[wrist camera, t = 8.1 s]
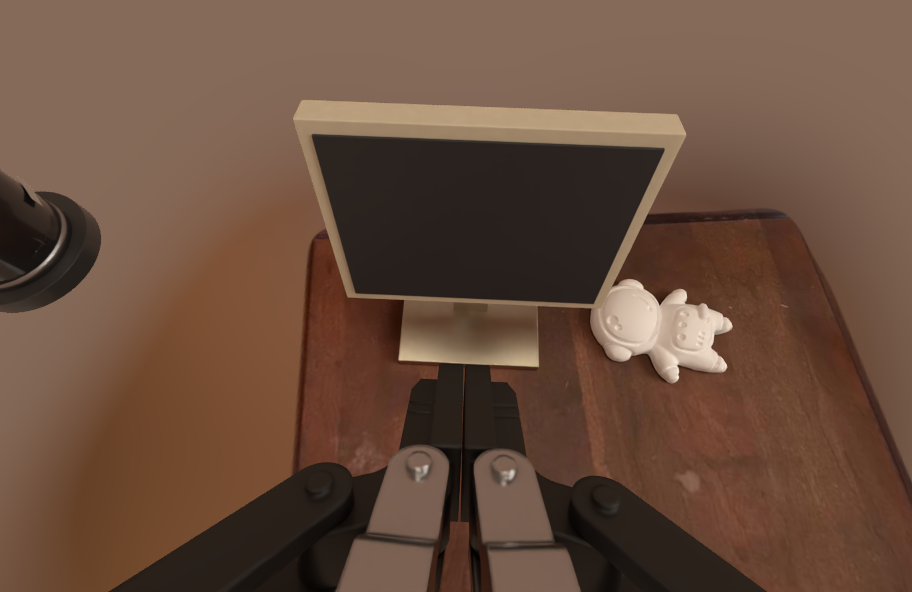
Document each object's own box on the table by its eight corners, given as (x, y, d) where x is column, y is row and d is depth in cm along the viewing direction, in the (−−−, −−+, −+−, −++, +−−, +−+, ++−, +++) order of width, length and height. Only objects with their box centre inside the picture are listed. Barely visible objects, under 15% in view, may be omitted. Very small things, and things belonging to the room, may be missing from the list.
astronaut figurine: (712, 402, 37) (733, 396, 34) (577, 347, 39) (587, 336, 36) (731, 314, 40) (752, 302, 37) (605, 266, 42) (616, 251, 39)
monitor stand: (536, 370, 38) (571, 326, 27) (399, 364, 38) (376, 317, 27) (534, 277, 41) (564, 202, 30) (408, 271, 42) (391, 195, 30)
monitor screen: (601, 311, 29) (688, 136, 19) (346, 299, 29) (290, 120, 19) (597, 290, 30) (677, 113, 20) (351, 279, 30) (301, 99, 20)
